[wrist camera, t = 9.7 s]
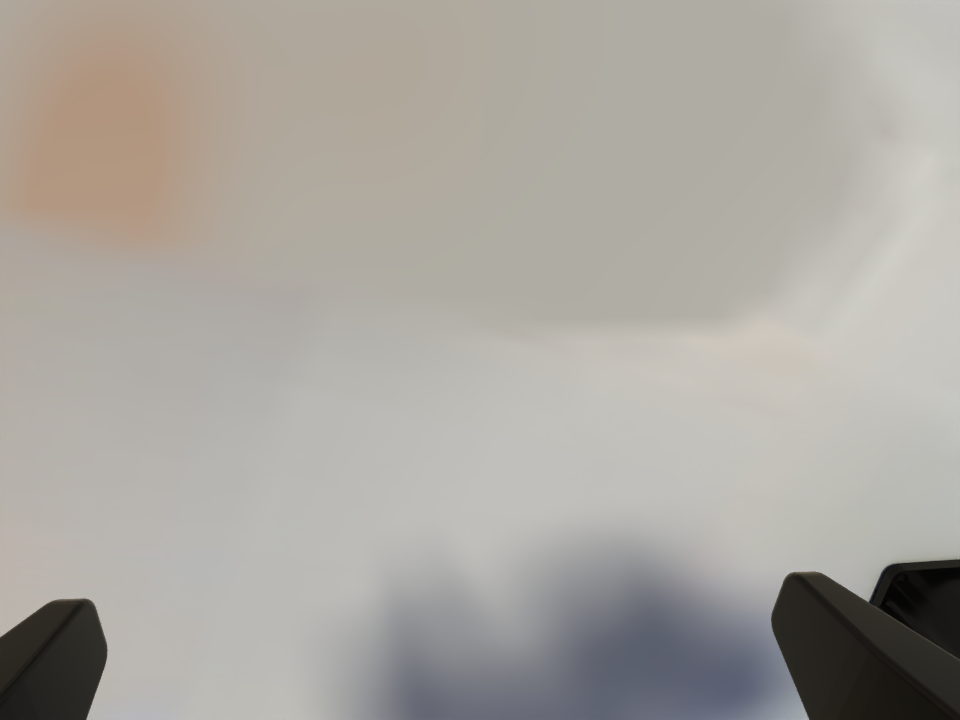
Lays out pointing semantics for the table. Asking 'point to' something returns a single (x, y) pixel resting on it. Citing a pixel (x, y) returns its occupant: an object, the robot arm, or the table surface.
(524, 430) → the table surface
